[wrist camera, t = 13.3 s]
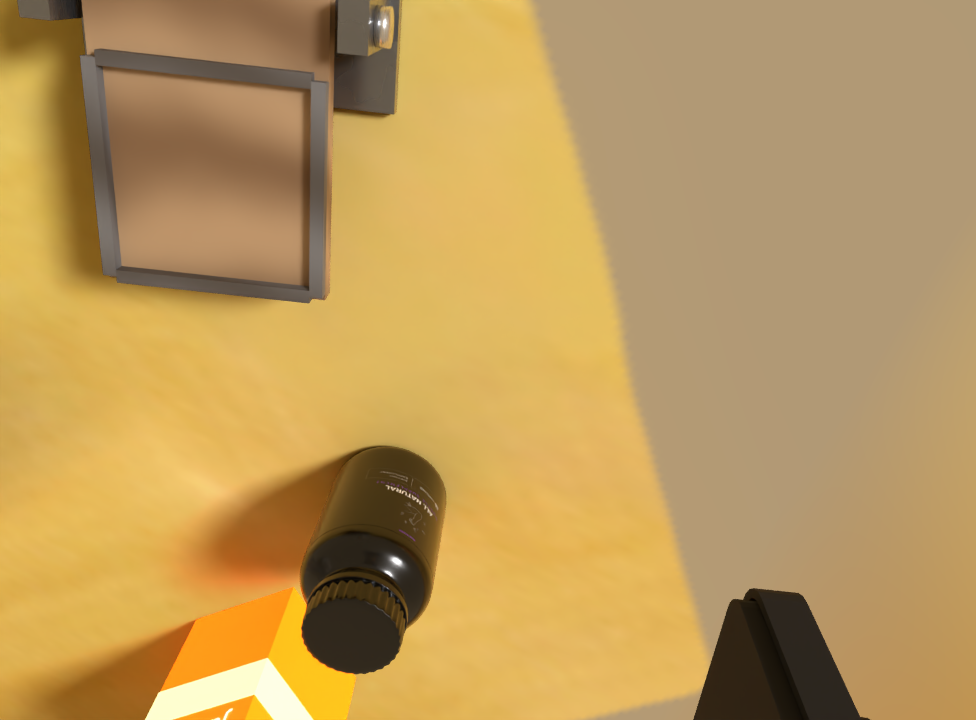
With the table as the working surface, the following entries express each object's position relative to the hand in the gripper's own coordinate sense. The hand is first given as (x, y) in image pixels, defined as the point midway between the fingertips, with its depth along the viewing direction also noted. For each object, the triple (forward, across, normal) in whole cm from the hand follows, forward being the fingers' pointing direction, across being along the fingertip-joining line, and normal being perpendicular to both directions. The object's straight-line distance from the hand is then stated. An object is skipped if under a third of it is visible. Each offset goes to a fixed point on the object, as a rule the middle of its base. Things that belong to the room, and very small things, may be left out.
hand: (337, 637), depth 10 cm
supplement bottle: (+32, +3, +21) cm, 39 cm away
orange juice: (+32, +10, +35) cm, 49 cm away
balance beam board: (+28, +11, -5) cm, 30 cm away
